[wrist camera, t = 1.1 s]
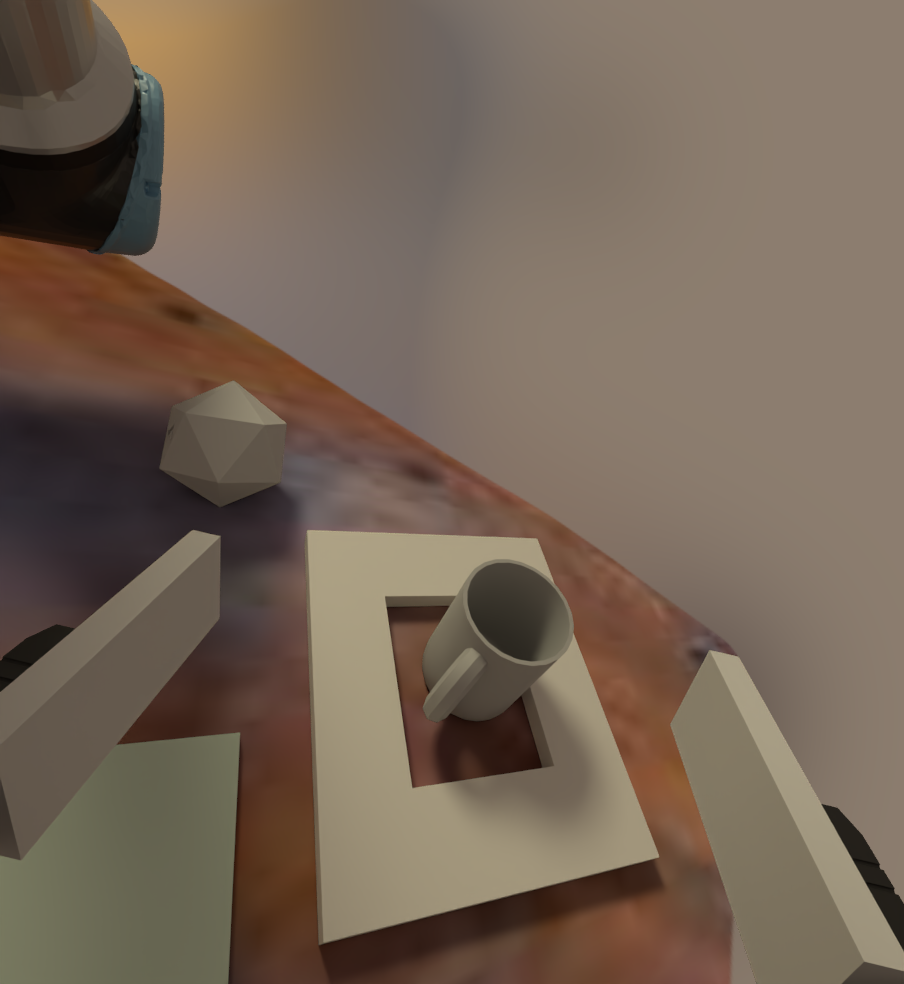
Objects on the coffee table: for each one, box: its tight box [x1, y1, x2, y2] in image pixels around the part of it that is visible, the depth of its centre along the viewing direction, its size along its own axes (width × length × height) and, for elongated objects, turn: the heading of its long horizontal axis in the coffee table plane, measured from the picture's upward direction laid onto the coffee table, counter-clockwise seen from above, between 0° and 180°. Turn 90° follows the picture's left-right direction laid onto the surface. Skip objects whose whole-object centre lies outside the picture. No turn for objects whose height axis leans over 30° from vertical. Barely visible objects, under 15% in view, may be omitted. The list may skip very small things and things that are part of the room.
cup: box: [422, 559, 574, 723], centre depth 34 cm, size 7×10×9 cm
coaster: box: [0, 733, 240, 984], centre depth 24 cm, size 12×12×1 cm
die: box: [159, 381, 287, 507], centre depth 39 cm, size 8×9×10 cm
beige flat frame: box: [305, 530, 659, 945], centre depth 36 cm, size 24×20×2 cm
